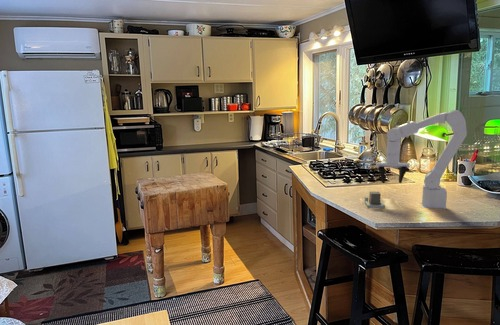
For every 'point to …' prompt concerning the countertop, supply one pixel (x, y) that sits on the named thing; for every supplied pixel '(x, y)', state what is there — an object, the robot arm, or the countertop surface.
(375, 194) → the plug
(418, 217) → the countertop surface
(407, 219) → the countertop surface
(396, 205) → the board
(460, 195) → the countertop surface
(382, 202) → the holder
